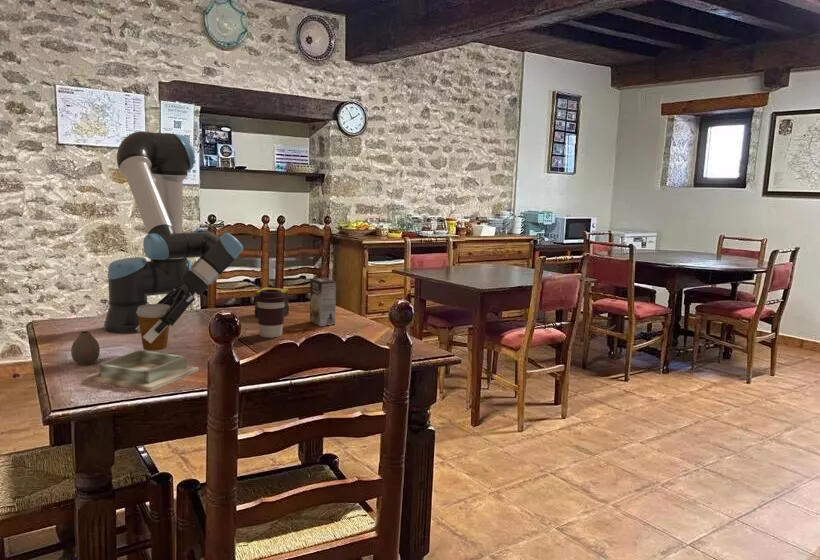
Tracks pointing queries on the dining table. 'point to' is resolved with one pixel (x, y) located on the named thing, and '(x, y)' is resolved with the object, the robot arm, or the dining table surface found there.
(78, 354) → the vase
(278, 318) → the coffee cup
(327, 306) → the coffee box
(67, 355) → the dining table surface
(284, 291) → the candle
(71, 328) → the dining table surface
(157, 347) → the disposable coffee cup
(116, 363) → the tray
